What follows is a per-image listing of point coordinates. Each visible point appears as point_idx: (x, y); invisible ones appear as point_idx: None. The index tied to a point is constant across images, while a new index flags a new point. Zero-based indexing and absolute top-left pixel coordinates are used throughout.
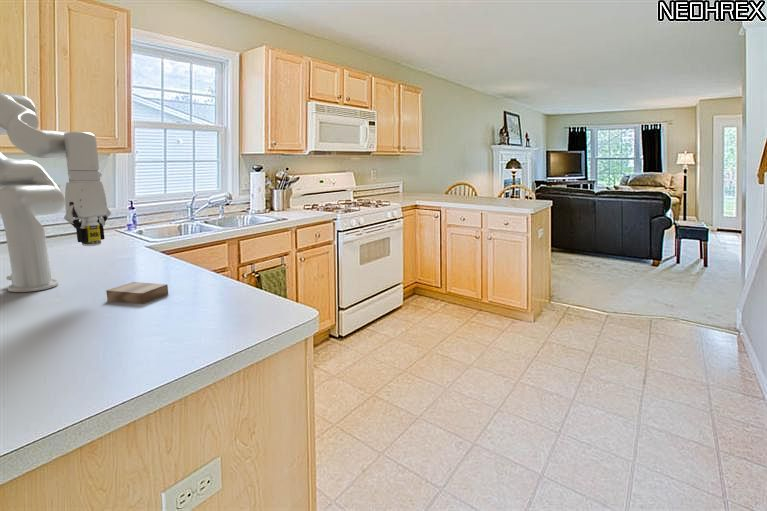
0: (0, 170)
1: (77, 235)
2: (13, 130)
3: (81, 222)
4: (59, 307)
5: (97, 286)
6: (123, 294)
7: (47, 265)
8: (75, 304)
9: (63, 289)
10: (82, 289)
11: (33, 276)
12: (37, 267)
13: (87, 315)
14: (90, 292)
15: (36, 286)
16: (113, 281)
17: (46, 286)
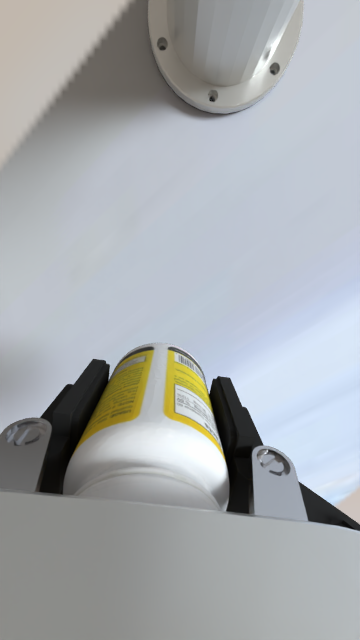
0: None
1: (56, 400)
2: None
3: None
4: (44, 305)
5: (245, 256)
6: None
7: (259, 23)
8: (73, 325)
9: (206, 171)
10: (210, 235)
11: (187, 33)
12: (207, 12)
13: (10, 406)
14: (180, 283)
15: (189, 70)
16: (306, 264)
17: (201, 104)
